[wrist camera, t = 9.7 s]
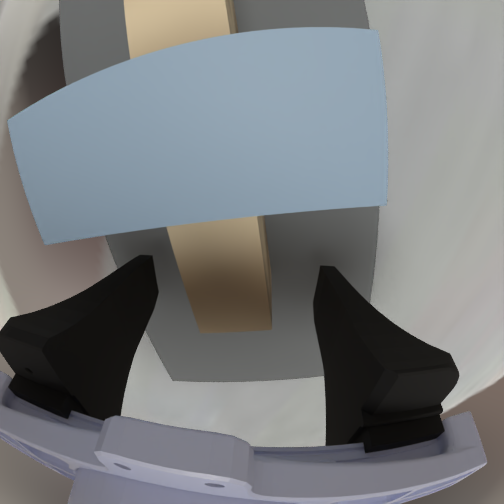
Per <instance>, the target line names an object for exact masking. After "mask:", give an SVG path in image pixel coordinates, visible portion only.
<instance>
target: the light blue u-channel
mask: <svg viewBox="0 0 504 504" xmlns="http://www.w3.org/2000/svg"><path fill="white" fill-rule="evenodd" d="M7 122H8V127H9V133H10V137H11V142H12V146H13V150H14V155H15V158H16V162H17V166H18V170H19V174H20V177H21V180H22V184H23V187H24V190H25V193H26V196H27V199H28V202H29V205H30V208H31V211H32V214H33V216H34V219H35V222H36V225H37V227H38V230H39V232H40V235H41V237H42V240H43V242H44V244H45V245H48V244H54V243H60V242H66V241H72V240H78V239H84V238H91V237H97V236H104V235H110V234H117V233H124V232H131V231H138V230H145V229H152V228H160V227H167V226H175V225H183V224H191V223H199V222H208V221H216V220H225V219H234V218H243V217H253V216H262V215H272V214H283V213H294V212H305V211H316V210H328V209H341V208H355V207H369V206H385V205H387V187H388V125H387V105H386V91H385V80H384V70H383V61H382V53H381V46H380V39H379V33H378V30H371V29H359V28H341V27H300V28H281V29H269V30H259V31H250V32H242V33H235V34H229V35H223V36H217V37H212V38H207V39H202V40H197V41H193V42H188V43H184V44H180V45H176V46H172V47H169V48H165V49H162V50H158V51H155V52H151V53H148V54H145V55H142V56H139V57H136V58H133V59H130V60H127V61H124V62H122V63H119V64H116V65H114V66H111V67H109V68H106V69H104V70H101V71H99V72H96V73H94V74H92V75H89V76H87V77H85V78H83V79H80V80H78V81H76V82H74V83H72V84H70V85H68V86H66V87H64V88H62V89H60V90H58V91H56V92H54V93H52V94H50V95H48V96H47V97H45V98H43V99H41V100H40V101H38V102H36V103H34V104H33V105H31V106H29V107H28V108H26V109H24V110H23V111H21V112H19V113H18V114H16V115H15V116H13V117H12V118H10V119H9V120H7Z"/></svg>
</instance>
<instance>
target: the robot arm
mask: <svg viewBox="0 0 504 504" xmlns="http://www.w3.org/2000/svg"><path fill="white" fill-rule="evenodd" d="M158 294H159V290H158V285H157V279H156V273H155V267H154V261H153V255H138V256H137V257H135V258H133V259H132V260H130V261H129V262H127V263H126V264H124V265H123V266H121V267H120V268H119V269H117V270H116V271H114V272H113V273H111V274H110V275H108V276H107V277H105V278H104V279H102V280H101V281H99V282H97V283H96V284H94V285H93V286H91V287H89V288H88V289H86V290H84V291H83V292H81V293H79V294H77V295H75V296H73V297H71V298H69V299H66V300H64V301H62V302H60V303H57V304H55V305H53V306H50V307H48V308H44V309H41V310H38V311H35V312H32V313H28V314H24V315H19V316H15V317H11V318H10V319H9V320H8V321H7V323H6V324H5V325H4V327H3V328H2V329H1V331H0V352H1V354H2V355H3V357H4V358H5V360H6V361H7V362H8V364H9V365H10V367H11V368H12V369H13V371H14V372H15V373H16V374H15V376H14V378H13V379H12V378H11V377H10V376H9V375H7V374H6V373H4V372H2V371H0V438H1V439H2V440H4V441H5V442H7V443H8V444H10V445H11V446H13V447H15V448H16V449H18V450H19V451H21V452H22V453H24V454H26V455H27V456H29V457H31V458H32V459H34V460H36V461H38V462H39V463H41V464H43V465H45V466H47V467H48V468H50V469H52V470H54V471H56V472H58V473H60V474H62V475H64V476H66V477H68V478H70V479H72V480H74V483H73V486H72V490H71V493H70V496H69V500H68V503H67V504H401V503H404V502H407V501H410V500H414V499H416V498H419V497H422V496H425V495H428V494H431V493H434V492H437V491H439V490H442V489H445V488H447V487H450V486H452V485H453V484H455V483H457V482H459V481H460V480H462V479H463V478H465V477H467V476H469V475H470V474H472V473H474V472H475V471H477V470H478V469H480V468H481V467H483V466H484V465H486V463H487V459H486V456H485V453H484V450H483V446H482V443H481V440H480V437H479V434H478V431H477V428H476V425H475V423H474V420H473V417H472V414H471V412H470V411H468V412H465V413H461V414H458V415H454V416H451V417H448V418H446V419H444V420H443V421H441V418H440V415H439V414H441V413H442V412H443V408H442V406H441V402H442V401H443V400H444V399H445V398H446V396H447V395H448V394H449V393H450V392H451V391H452V389H453V388H454V387H455V385H456V384H457V381H458V378H459V371H458V369H457V367H456V365H455V363H454V361H453V359H452V356H451V355H450V353H447V352H445V351H443V350H440V349H438V348H436V347H433V346H431V345H429V344H427V343H425V342H423V341H421V340H420V339H418V338H416V337H414V336H412V335H411V334H409V333H407V332H406V331H404V330H403V329H401V328H400V327H398V326H397V325H395V324H394V323H393V322H391V321H390V320H389V319H387V318H386V317H385V316H384V315H382V314H381V313H380V312H379V311H378V310H376V309H375V308H374V307H373V306H372V305H371V304H370V303H369V302H368V301H367V300H366V299H365V298H364V297H363V296H362V295H361V294H360V293H359V292H358V291H357V290H356V289H355V288H354V287H353V286H352V285H351V284H350V283H349V282H348V281H347V279H346V278H345V277H344V276H343V275H342V274H341V273H340V272H339V271H338V270H337V268H336V267H335V266H323V265H320V270H319V275H318V280H317V285H316V290H315V294H314V299H313V314H314V324H315V329H316V334H317V339H318V343H319V348H320V353H321V358H322V363H323V369H324V380H325V397H326V446H318V447H253V446H250V444H249V443H248V442H246V441H244V440H242V439H239V438H237V437H235V436H232V435H226V434H221V433H216V432H209V431H201V430H193V429H187V428H180V427H174V426H169V425H163V424H158V423H153V422H148V421H144V420H139V419H135V418H131V417H123V416H121V409H122V403H123V398H124V393H125V388H126V384H127V380H128V375H129V372H130V368H131V365H132V361H133V358H134V355H135V352H136V349H137V347H138V345H139V343H140V340H141V338H142V336H143V334H144V331H145V329H146V327H147V325H148V322H149V320H150V318H151V316H152V313H153V311H154V308H155V305H156V301H157V298H158Z"/></svg>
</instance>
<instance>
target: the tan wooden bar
mask: <svg viewBox="0 0 504 504" xmlns="http://www.w3.org/2000/svg"><path fill="white" fill-rule="evenodd" d="M124 11H125V20H126V29H127V38H128V46H129V53H130V59H133V58H136V57H139V56H142V55H145V54H148V53H151V52H155V51H158V50H162V49H165V48H169V47H172V46H176V45H180V44H184V43H188V42H193V41H197V40H202V39H207V38H212V37H217V36H223V35H229V34H235V33H238V27H237V20H236V14H235V8H234V2H233V0H124ZM167 231H168V234H169V238H170V241H171V245H172V248H173V251H174V255H175V258H176V261H177V265H178V268H179V271H180V274H181V278H182V281H183V284H184V287H185V290H186V293H187V296H188V299H189V302H190V305H191V308H192V311H193V314H194V317H195V320H196V323H197V325H198V328H199V331H200V333H226V332H246V331H263V330H272V288H271V267H270V259H269V250H268V242H267V234H266V226H265V218H264V215H262V216H253V217H243V218H234V219H225V220H216V221H208V222H199V223H191V224H183V225H175V226H167Z"/></svg>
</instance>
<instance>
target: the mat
mask: <svg viewBox="0 0 504 504" xmlns="http://www.w3.org/2000/svg"><path fill="white" fill-rule="evenodd" d="M233 2H234V8H235V14H236V20H237V27H238V33H242V32H250V31H259V30H269V29H281V28H300V27H341V28H359V29H370V28H369V23H368V17H367V12H366V7H365V2H364V0H233ZM59 13H60V33H61V46H62V56H63V65H64V73H65V80H66V86H68V85H70V84H72V83H74V82H76V81H78V80H80V79H83V78H85V77H87V76H89V75H92V74H94V73H96V72H99V71H101V70H104V69H106V68H109V67H111V66H114V65H116V64H119V63H122V62H124V61H127V60H130V53H129V46H128V38H127V29H126V20H125V11H124V0H59ZM264 218H265V226H266V234H267V242H268V250H269V259H270V267H271V288H272V330H263V331H246V332H226V333H200V331H199V328H198V325H197V323H196V320H195V317H194V314H193V311H192V308H191V305H190V302H189V299H188V296H187V293H186V290H185V287H184V284H183V281H182V278H181V274H180V271H179V268H178V265H177V261H176V258H175V255H174V251H173V248H172V245H171V241H170V238H169V234H168V231H167V227H160V228H152V229H145V230H138V231H131V232H124V233H117V234H110V235H105V236H106V239H107V242H108V245H109V247H110V250H111V253H112V255H113V258H114V260H115V263H116V265H117V268H118V269H119V268H120V267H121V266H123V265H124V264H126V263H127V262H129V261H130V260H132V259H133V258H135V257H137V256H138V255H153V261H154V267H155V273H156V279H157V285H158V290H159V294H158V298H157V301H156V305H155V308H154V311H153V313H152V316H151V318H150V320H149V322H148V325H147V327H146V329H145V330H146V332H147V334H148V336H149V338H150V340H151V342H152V344H153V346H154V348H155V350H156V352H157V353H158V355H159V357H160V359H161V361H162V363H163V365H164V366H165V368H166V370H167V372H168V374H169V375H170V377H171V379H172V381H191V382H246V381H269V380H285V379H298V378H309V377H318V376H324V369H323V363H322V358H321V353H320V348H319V343H318V339H317V334H316V329H315V324H314V314H313V299H314V294H315V290H316V285H317V280H318V275H319V270H320V265H323V266H335V267H336V268H337V270H338V271H339V272H340V273H341V274H342V275H343V276H344V277H345V278H346V279H347V281H348V282H349V283H350V284H351V285H352V286H353V287H354V288H355V289H356V290H357V291H358V292H359V293H360V294H361V295H362V296H363V297H364V298H365V299H366V300H367V301H368V302H369V303H370V298H371V291H372V283H373V275H374V267H375V257H376V247H377V235H378V220H379V206H369V207H355V208H341V209H328V210H316V211H305V212H294V213H283V214H272V215H264Z"/></svg>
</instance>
